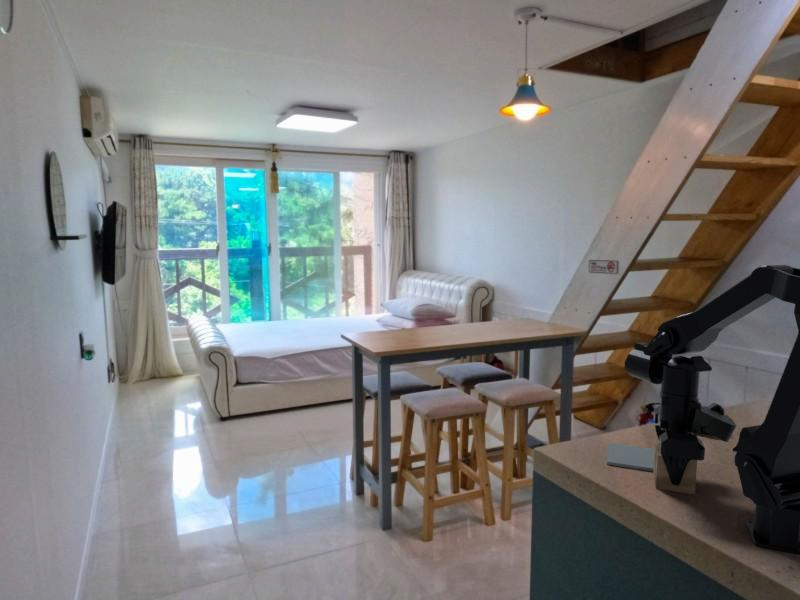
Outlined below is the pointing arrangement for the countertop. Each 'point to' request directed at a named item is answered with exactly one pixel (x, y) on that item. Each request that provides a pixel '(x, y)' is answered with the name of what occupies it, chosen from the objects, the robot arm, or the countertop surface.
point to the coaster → (631, 456)
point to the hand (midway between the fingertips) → (673, 477)
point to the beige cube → (664, 480)
